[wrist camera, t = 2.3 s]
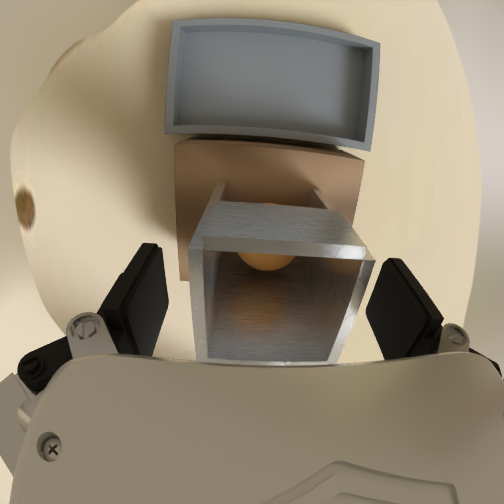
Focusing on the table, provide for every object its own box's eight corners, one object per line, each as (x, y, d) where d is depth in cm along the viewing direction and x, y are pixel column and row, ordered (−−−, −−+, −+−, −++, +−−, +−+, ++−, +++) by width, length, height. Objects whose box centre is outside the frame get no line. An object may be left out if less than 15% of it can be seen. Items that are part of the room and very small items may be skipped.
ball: (291, 252, 19) (300, 285, 15) (234, 248, 19) (230, 282, 15) (299, 197, 17) (312, 220, 14) (237, 192, 17) (233, 215, 13)
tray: (358, 147, 20) (370, 151, 18) (173, 131, 19) (164, 133, 17) (368, 48, 16) (380, 43, 14) (181, 29, 15) (173, 20, 13)
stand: (322, 257, 25) (335, 289, 21) (192, 249, 24) (180, 280, 20) (341, 150, 20) (364, 160, 16) (191, 137, 20) (175, 144, 15)
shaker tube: (305, 267, 20) (334, 367, 12) (216, 262, 19) (197, 363, 11) (320, 181, 17) (379, 247, 9) (218, 173, 16) (187, 235, 8)
